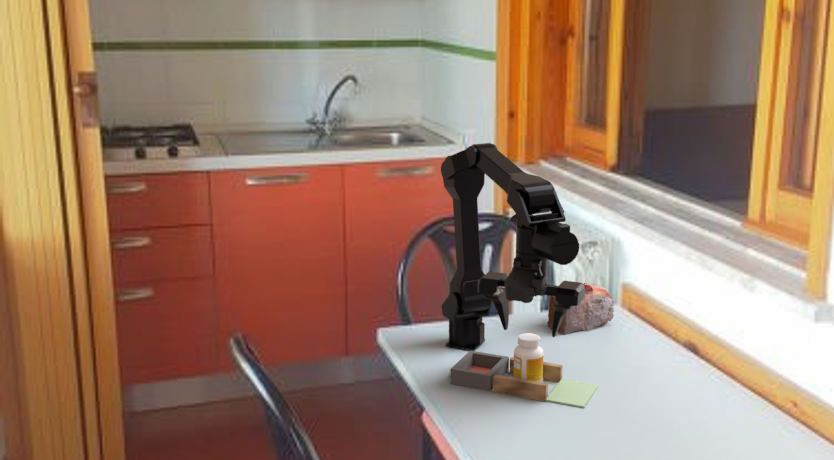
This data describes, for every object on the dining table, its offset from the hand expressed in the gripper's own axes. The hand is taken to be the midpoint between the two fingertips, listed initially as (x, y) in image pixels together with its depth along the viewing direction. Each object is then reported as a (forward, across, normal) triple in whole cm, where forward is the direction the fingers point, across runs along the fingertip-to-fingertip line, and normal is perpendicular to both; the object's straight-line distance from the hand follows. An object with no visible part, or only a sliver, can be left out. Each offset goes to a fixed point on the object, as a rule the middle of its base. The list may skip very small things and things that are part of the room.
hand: (529, 332), depth 170 cm
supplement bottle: (+11, 0, 0) cm, 11 cm away
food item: (+11, +1, +35) cm, 36 cm away
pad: (+10, +8, 0) cm, 13 cm away
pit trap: (+10, -10, 0) cm, 14 cm away
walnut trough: (+10, 0, 0) cm, 10 cm away
